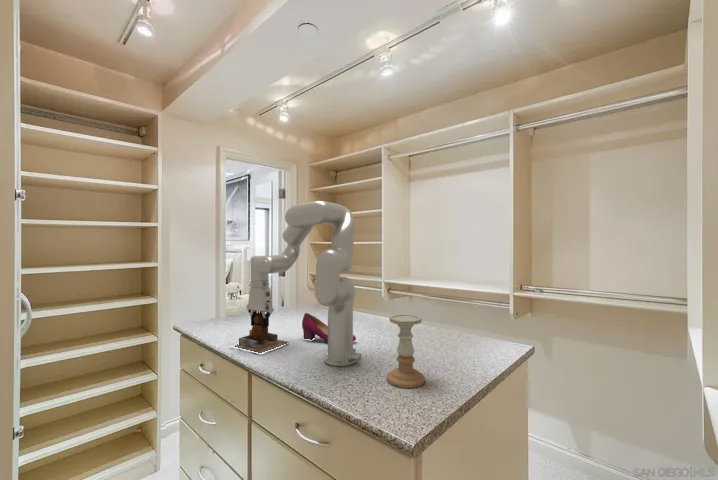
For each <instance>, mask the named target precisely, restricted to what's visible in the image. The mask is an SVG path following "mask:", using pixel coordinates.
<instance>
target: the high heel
mask: <svg viewBox="0 0 718 480" xmlns="http://www.w3.org/2000/svg"><path fill="white" fill-rule="evenodd" d="M301 328H302V331H303V338H304V339H310V340H312V339H313V338H315V339H316V336H317V337H318V338H320V339H322V340H323V341H324V342H325V343H327V344H328V324H325V323H324V322H323V321H321V320H320V319H319V318H317V317H316V316H314V315H312V314H311V313H308V312H305V313H304V314H303V318H302V322H301ZM356 340H357V336H356V335H354V334H353V342H355V341H356Z"/></svg>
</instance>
